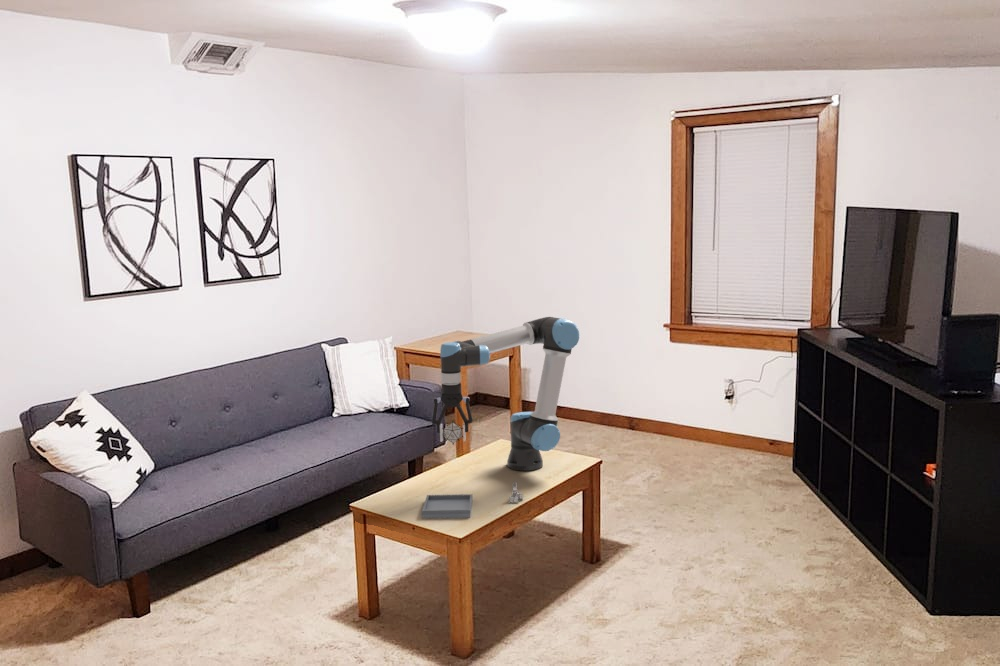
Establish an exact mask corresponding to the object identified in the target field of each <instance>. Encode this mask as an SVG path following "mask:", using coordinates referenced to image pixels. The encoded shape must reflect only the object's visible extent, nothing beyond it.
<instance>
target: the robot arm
mask: <svg viewBox="0 0 1000 666" xmlns="http://www.w3.org/2000/svg"><path fill="white" fill-rule="evenodd" d="M579 341H580V330H579V328H578V327H577V325H576V324H575V322H573V321H571V320H569V319H565V318H560V317H554V316H545V317H541V318H537V319H533V320H530V321H526V322H523V324H522V325H521V326H517V327H513V328H509V329H505V330H501V331H498V332H494V333H493V332H492V333H490V334H486V335H482V336H479V337H475V338H471V339H467V340H462V341H461V340H454V341H453V342H443V343H442V344H441V346H440V355H439V356H440V367H441V368H440V375H441V376H440V377H441V382H440V383H442V384H441V396H439V397H438V396H437V397H436V396H435V397H434V399H433V404H434V408H433V414H432V419H431V423H432V424H435V425H436V432H437V433H438V434H439V439H440V443H442V442H443V441H444V438H443V436H444V429H442V428H444V427H443V423H442V420H443V417H444V416H445V413H446V410H447V408H456V410H457V411H458V413H459V414H460V417H461V420H463V423H462V428H463V429H462V436H463V437H462V439H463V440H462V441H463V442H466V440H467V439H466V438H467V437H466V434H467V433H468V432H469V424H472V423H473V420H474V419H473V415H472V411H471V406H470V396H463V394H462V383H461V382H462V371H461V369H462V368H463V367H472V366H482V365H486V364H488V363H489V361H490V358H491V354H493V353H497V352H500V351H504V350H507V349H510V348H516V347H519V346H522V345H529V346H532V345H538V344H540V345H542V344H543V345H542V350H543V352H544V359H543V360H544V361H543V365H542V370H541V376H540V381H539V382H540V383H539V387H538V392H537V396H536V397H537V398H536V402H535V407H534V411H521V412H514V413H512V414H511V416H510V420H509V421H510V422H509V424H510V451H509V453H508V458H507V461H506V462H507V463H506V464H507V466H506V467H507V468H509V469H511V470H514V471H534V470H538V469H541V468H543V466H544V463H543V462H544V461H543V457H542V454H541V451H542V452H549V451H551V450H553V449H554V448H556V446H557V445H558V444H559V442H560V439H561V432H560V429H559V427H558V423H559V422H558V421H559V418H558V417H557V415H556V413H557V407H558V403H559V397H560V392H561V387H562V381H563V376H564V372H565V367H566V362H567V357H569V356H570V355H571V354H572V350H573V348H575V346H577V345H578V343H579ZM462 401H463V403H465V407H466V413H467V416H468V417H467V416H466V414H465V412H464V410H463V408H462V406H461V405H462V404H461V402H462ZM441 402H442V403H443V404H444V405H443V408H442V410H441V412H440V415H439V417H438V420H437V416H438V408H439V403H441Z"/></svg>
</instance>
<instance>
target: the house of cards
mask: <svg viewBox="0 0 1000 666" xmlns="http://www.w3.org/2000/svg"><path fill="white" fill-rule="evenodd" d="M517 487H518V486H517V482H512V493H511V495H510V496H509V500H508V504H519V502H523V500H524V494H523V493H520V492H518V488H517Z"/></svg>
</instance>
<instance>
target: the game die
mask: <svg viewBox="0 0 1000 666" xmlns="http://www.w3.org/2000/svg"><path fill="white" fill-rule="evenodd" d="M442 429H443V439H445V441H446V442H448V441H449V442H450V443H451V444H452V445H453V446H454V445H455V442H457V441H460V439H461V438H463V427H461V425H460V424H457V423H455V422H454V420H452V421H451V423H449V424H446V426H445V427H443V428H442Z"/></svg>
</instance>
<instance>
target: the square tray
mask: <svg viewBox="0 0 1000 666" xmlns="http://www.w3.org/2000/svg"><path fill="white" fill-rule="evenodd" d="M473 499H474V498H473V494H471V493H470V494H426V497H425V500H424V504H423V506H422V509H421V515H422V516H421V518H422V519H471V517H472V515H471V514H472V510H473V509H472V507H473Z"/></svg>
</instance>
